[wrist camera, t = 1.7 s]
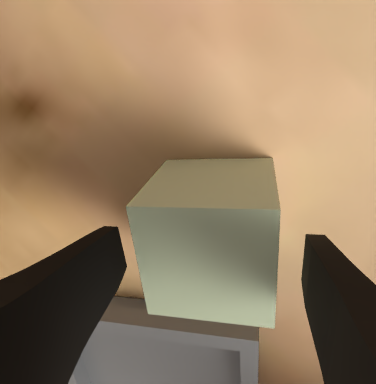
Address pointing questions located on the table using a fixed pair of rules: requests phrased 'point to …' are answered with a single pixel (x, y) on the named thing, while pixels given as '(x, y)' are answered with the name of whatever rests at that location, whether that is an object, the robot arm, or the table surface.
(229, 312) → the cube
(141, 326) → the tray
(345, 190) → the table surface
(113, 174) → the table surface
